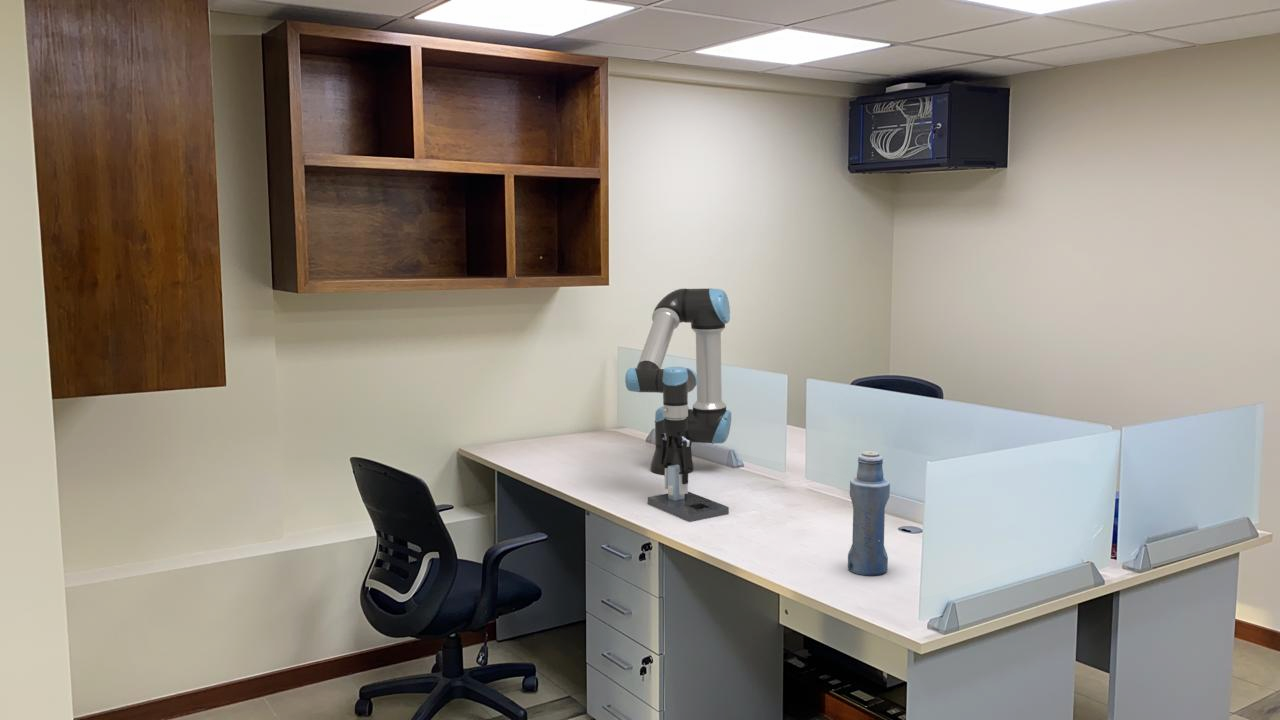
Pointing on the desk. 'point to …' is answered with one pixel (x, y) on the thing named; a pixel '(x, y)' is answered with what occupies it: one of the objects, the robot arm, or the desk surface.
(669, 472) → the pale blue rectangular prism
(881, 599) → the desk surface
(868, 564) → the bottle
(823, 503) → the desk surface
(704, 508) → the dark grey base plate
